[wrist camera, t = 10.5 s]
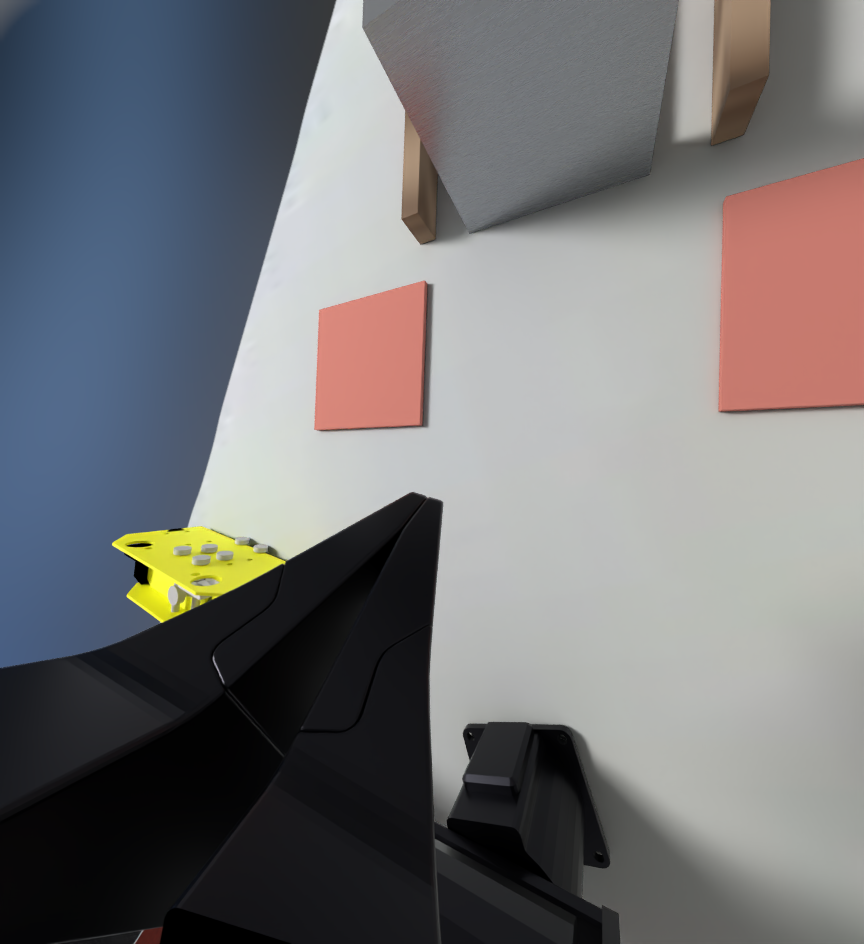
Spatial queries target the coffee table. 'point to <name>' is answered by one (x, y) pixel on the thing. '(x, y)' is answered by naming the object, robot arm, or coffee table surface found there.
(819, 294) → the mat
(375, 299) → the mat
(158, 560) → the yellow toy chassis
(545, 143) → the grey bookend
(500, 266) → the coffee table surface
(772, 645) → the coffee table surface
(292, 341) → the coffee table surface
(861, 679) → the coffee table surface
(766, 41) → the walnut corral
